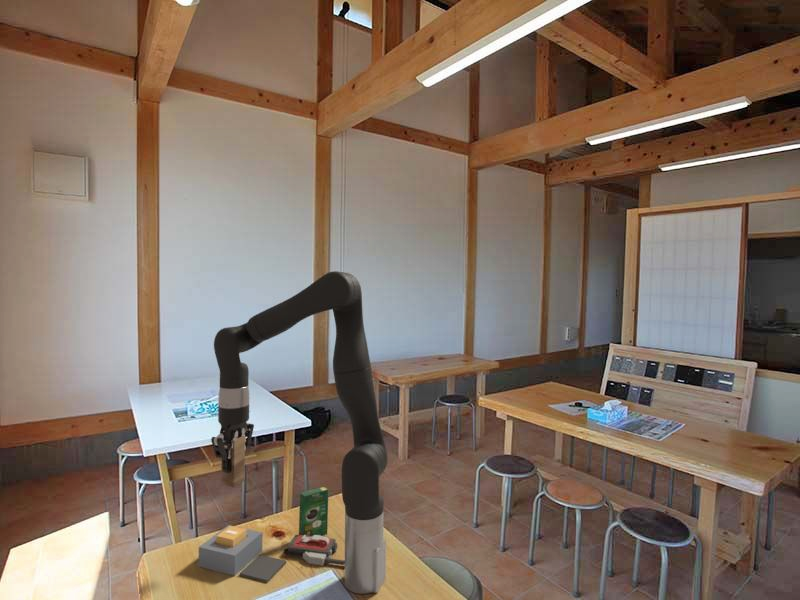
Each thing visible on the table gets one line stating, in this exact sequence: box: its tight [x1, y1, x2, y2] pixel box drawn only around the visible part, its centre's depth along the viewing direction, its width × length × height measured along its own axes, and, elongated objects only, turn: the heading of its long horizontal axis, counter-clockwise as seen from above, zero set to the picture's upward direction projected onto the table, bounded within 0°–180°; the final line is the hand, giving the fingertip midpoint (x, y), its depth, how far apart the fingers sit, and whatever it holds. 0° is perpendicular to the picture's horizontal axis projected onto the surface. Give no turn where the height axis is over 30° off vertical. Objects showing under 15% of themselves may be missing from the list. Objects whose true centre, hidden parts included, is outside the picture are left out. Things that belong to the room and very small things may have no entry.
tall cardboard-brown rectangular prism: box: [220, 436, 246, 488], centre depth 114 cm, size 4×4×12 cm
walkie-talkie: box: [283, 534, 345, 567], centre depth 116 cm, size 9×4×20 cm
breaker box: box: [198, 524, 264, 577], centre depth 114 cm, size 11×11×5 cm
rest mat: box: [239, 554, 287, 583], centre depth 109 cm, size 8×8×1 cm
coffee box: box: [298, 486, 329, 536], centre depth 124 cm, size 8×3×13 cm, turn 128°
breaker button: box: [216, 525, 248, 548], centre depth 113 cm, size 5×5×4 cm
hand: (233, 468), depth 114 cm, fingers closed on tall cardboard-brown rectangular prism, 4 cm apart
